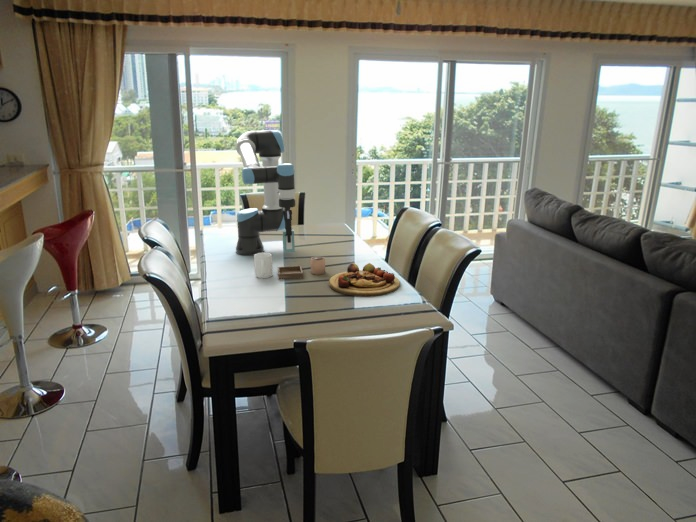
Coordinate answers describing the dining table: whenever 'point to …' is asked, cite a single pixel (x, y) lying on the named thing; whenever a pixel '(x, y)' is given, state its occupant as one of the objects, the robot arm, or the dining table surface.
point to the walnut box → (290, 272)
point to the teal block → (285, 242)
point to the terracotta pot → (317, 265)
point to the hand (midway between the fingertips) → (289, 247)
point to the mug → (263, 265)
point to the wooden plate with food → (364, 281)
